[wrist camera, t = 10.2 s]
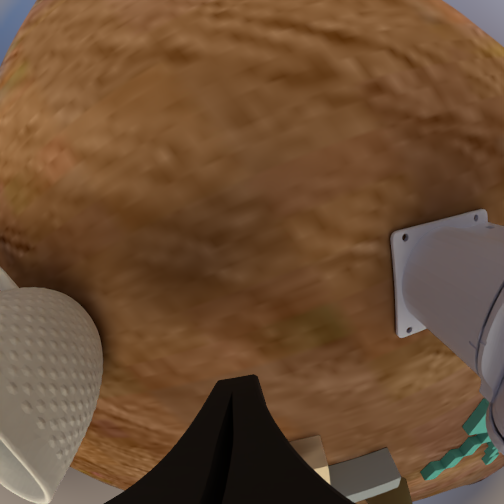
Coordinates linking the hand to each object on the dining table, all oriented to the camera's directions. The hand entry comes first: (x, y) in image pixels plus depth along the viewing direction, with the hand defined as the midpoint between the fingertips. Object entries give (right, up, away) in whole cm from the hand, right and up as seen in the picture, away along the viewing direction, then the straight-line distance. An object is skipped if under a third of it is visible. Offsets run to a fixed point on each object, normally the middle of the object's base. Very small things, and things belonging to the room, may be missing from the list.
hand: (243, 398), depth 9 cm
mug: (-15, 0, +10) cm, 18 cm away
